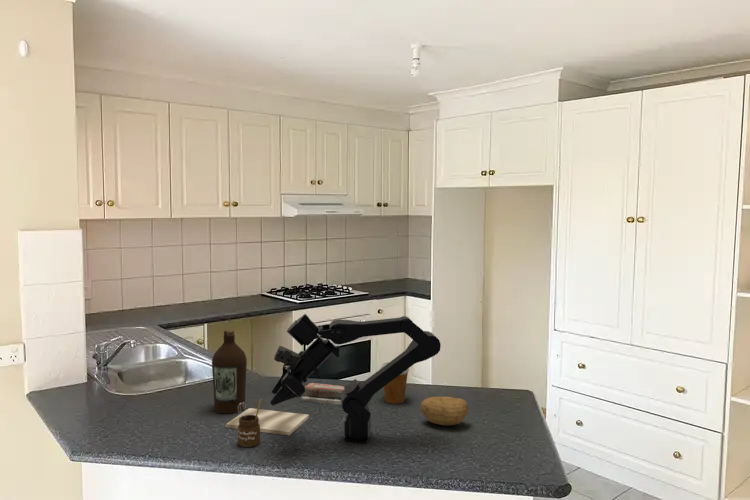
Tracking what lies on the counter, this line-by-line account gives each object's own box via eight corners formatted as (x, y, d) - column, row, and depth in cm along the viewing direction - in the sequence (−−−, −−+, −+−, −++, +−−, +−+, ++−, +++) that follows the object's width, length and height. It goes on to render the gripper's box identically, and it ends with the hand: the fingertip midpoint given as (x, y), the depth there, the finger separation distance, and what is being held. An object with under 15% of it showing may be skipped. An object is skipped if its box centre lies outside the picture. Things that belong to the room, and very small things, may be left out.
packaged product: (299, 388, 186) (310, 379, 195) (299, 402, 186) (310, 393, 196) (352, 392, 181) (360, 383, 191) (352, 407, 182) (360, 397, 191)
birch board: (308, 418, 171) (308, 414, 171) (289, 435, 157) (289, 432, 157) (249, 411, 176) (249, 408, 176) (225, 427, 163) (225, 424, 163)
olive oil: (219, 402, 184) (218, 327, 182) (251, 403, 183) (250, 327, 182) (207, 414, 173) (206, 334, 172) (241, 415, 173) (240, 334, 171)
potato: (422, 416, 173) (423, 390, 172) (469, 420, 169) (469, 394, 169) (417, 428, 163) (417, 401, 163) (466, 433, 160) (466, 405, 159)
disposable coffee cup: (414, 402, 186) (415, 366, 185) (391, 407, 180) (391, 370, 180) (397, 394, 194) (397, 359, 193) (374, 399, 188) (374, 364, 187)
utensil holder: (240, 438, 155) (240, 396, 154) (263, 439, 155) (263, 396, 154) (234, 447, 149) (234, 403, 148) (258, 448, 149) (258, 403, 148)
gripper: (292, 329, 161) (252, 368, 160) (291, 344, 142) (247, 389, 142) (319, 356, 162) (281, 394, 162) (322, 374, 144) (279, 418, 143)
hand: (272, 398), depth 152 cm, fingers open, 9 cm apart
